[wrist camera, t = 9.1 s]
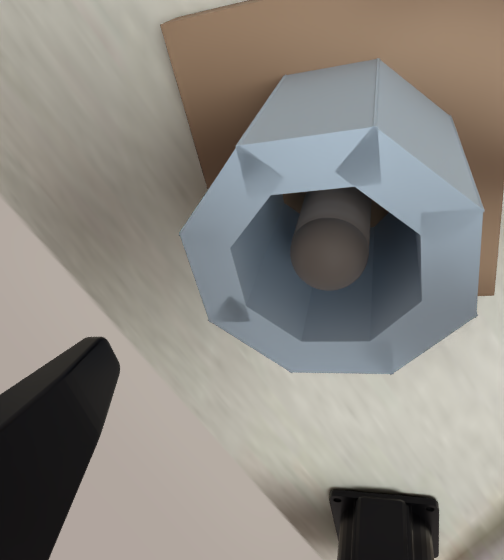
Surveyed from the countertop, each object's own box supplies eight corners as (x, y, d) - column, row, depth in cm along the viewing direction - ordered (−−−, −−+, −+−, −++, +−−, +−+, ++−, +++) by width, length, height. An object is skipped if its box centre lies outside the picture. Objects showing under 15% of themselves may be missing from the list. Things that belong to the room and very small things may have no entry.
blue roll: (449, 251, 17) (473, 376, 12) (265, 261, 19) (225, 371, 14) (453, 44, 13) (492, 108, 8) (223, 85, 15) (151, 156, 10)
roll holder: (487, 272, 19) (533, 429, 13) (248, 282, 22) (197, 414, 16) (512, -62, 13) (621, -53, 7) (177, 17, 16) (53, 71, 10)
